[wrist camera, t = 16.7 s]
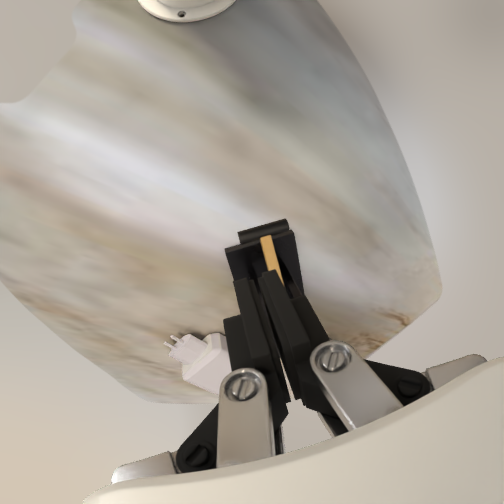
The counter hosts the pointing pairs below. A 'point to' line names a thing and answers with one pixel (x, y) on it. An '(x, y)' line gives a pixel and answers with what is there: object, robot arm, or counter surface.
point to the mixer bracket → (253, 265)
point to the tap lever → (266, 240)
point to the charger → (202, 360)
